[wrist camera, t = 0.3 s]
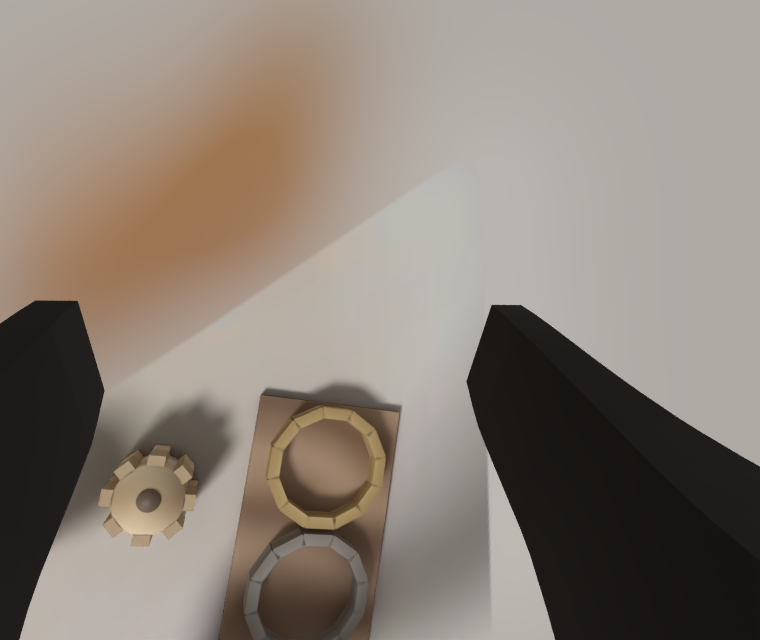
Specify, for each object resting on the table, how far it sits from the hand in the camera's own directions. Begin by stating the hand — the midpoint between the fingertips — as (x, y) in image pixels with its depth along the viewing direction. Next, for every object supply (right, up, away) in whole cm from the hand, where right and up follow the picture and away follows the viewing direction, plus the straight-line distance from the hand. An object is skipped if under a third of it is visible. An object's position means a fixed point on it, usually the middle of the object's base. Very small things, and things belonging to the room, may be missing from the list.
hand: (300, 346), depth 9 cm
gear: (-14, -11, +25) cm, 30 cm away
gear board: (-4, -15, +28) cm, 32 cm away
